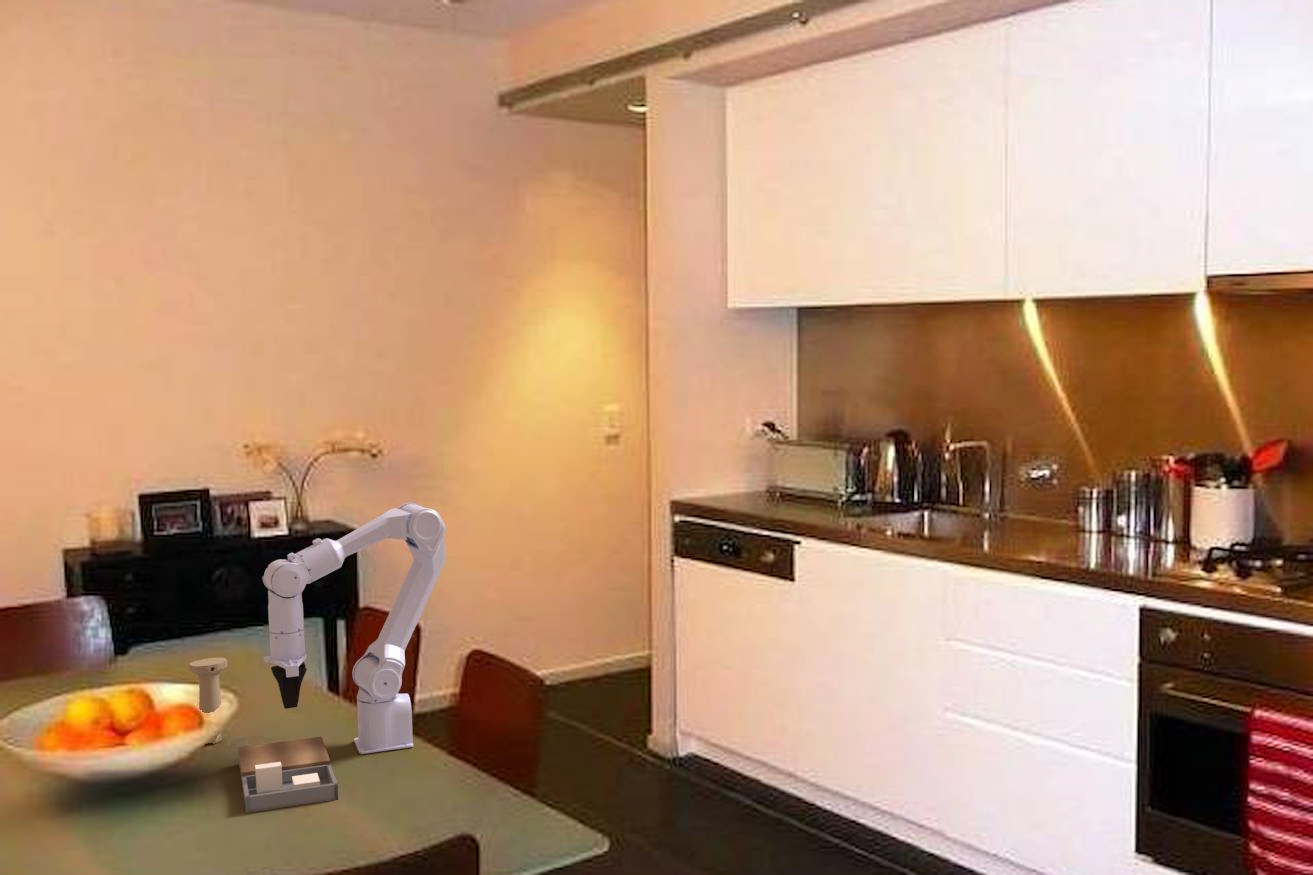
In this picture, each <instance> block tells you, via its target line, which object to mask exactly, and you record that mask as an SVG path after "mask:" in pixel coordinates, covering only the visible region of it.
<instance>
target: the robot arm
mask: <svg viewBox="0 0 1313 875" xmlns="http://www.w3.org/2000/svg"><path fill="white" fill-rule="evenodd" d="M446 532H447V527H446V524H445V523H444V521H443V518H442V517H441V514H439V512H437V511H436V510H434V509H432V508H428V507H424V506H421V505H419V504H418V503H414V502H407V503H403V504H401V505H400V506H398V507H394V508H392V509H389V510H387V511H386V512H384V513H383V514H381V515H379V516H378V517H376V518H374V519H372V520H371V521H368V522H366V523H365V524H363V525H362V526H360V527H358V528H357V529H354V530H353V531H351V532H350V533H348V534H346V535H344V536H342V537H340V538H339V539H337V540H334V539H330V538H323V539H321V538H319V537H318V538H315V539H313V540H311V541H312V545H310V546H308V547H305V548H304V549H301V550H300V551H297V552H296V553H294V552H290V553H289V554H287V559H280V558H279V559H276V560H274V561H272V562H271V563H269V564H268V565H267V568H266V569H265V571H264V574H263V576H262V582H263V584H264V586H265V587H266V588H267V589H268V590H267V595H268V596H267V599H268V605H267V610H268V612H267V614H268V628H269V629H268V630H269V632H268V633H269V648H270V649H269V651H270V655H265V656H263V662H264V663H266V664H267V663H271V664H274V665H273V666H271V667H270V670H271V673H272V675H273V676H274V678H275V680H276V683H277V684H278V689H279V692H280V697H281V701H282V704H283V707H284V709H285V710H288V709H293V708H294V709H295V708H298V704H299V701H300V700H299V699H300V692H301V686H302V683H303V679H304V677H305V675H306V673H307V667H306V663H305V662H304V661H305V660H306V659H307V657H308V656H307V652H306V644H305V623H304V620H305V619H304V603H303V596H302V595H303V594H302V593H303V591H304V590H305V588H306V585H307V584H308V585H309V584H312V583H314V582H315V581H317V580H319V579H321V578H322V577H324V576H327V575H328V574H331V573H332V572H334V571H336V570H339V569H340V568H342V566H343V563H344V561H345V559H346V558H347V557H348V556H351V555H353V554H356V553H357V552H360V551H361V550H364V549H366V548H368V547H371V546H373V545H375V544H377V543H379V542H381V541H384V540H386V539H392V540H393V539H394V540H402V541H404V542H405V543H406V544H407V546H408V548H409V551H410V553H411V556H412V558H413V561H412V563H411V565H410V568H409V570H408V572H407V574H406V576H405V579H404V581H403V583H402V584H401V587H400V590H399V591H398V593H397V596H396V598H395V600H394V603H393V604H392V607H391V609H390V611H389V613H388V616H387V617H386V620H385V622H384V624H383V626H382V627H381V628H382V629H381V630H380V633H379V635H378V638H377V639H376V640H375V641H373V642H372V643H371V644H369V646H368V647H367V649H366V651H365V653H364V654H363V655H362V657H360V658H359V659H358V660H357V661H356V662H355V664H354V665H353V668H352V673H351V674H352V679H353V680H352V681H354V683H355V685H356V686H358V692H357V694H356V705H357V706H356V708H357V732H358V733H357V734H358V735H357V736H358V737H355V738H353V741H354V744H355V747H356V748H357V750H358V753H359V754H360V755H363V754H371V753H379V752H387V751H393V750H400V749H401V750H402V749H408V748H413V747H414V741H413V715H412V714H413V712H412V703H411V698H410V695H409V693H399V692H400V690H401V687H402V685H403V684H402V683H403V679H402V677H403V672H404V669H405V666H406V656H405V651H406V649H407V646H408V644H409V642H410V640H411V638H412V636H413V634H414V631H415V629H416V626H417V625H418V622H419V620H420V618H421V616H422V613H423V612H424V610H425V607H426V604H427V603H428V601H429V598H430V597H431V594H432V592H433V589H434V587H435V585H436V583H437V581H438V578H439V577H440V574H441V572H442V569H443V567H444V565H445V563H446V543H445V542H446V540H445V535H446Z"/></svg>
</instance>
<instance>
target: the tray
mask: <svg viewBox="0 0 1313 875" xmlns="http://www.w3.org/2000/svg"><path fill="white" fill-rule="evenodd" d="M312 773H317V774H318V777H319V780H320V785H319V786H312V787H305V788H298V789H292V776H298V775H305V774H312ZM242 783H243V788H242V794H243V800H244V807H245V808H244V809H245V814H249V813H258V812H263V811H271V810H276V809H284V808H289V807H296V806H302V805H303V806H304V805H309V804H310V805H311V804H315V803H322V802H329V801H337V800H339V788H338V787H339V786H338V784H339V783H338V781H337V778H336V776H335V773H334V770H333V768H332V764H331V763H330V764H326V765H319V766H312V767H305V768H298V769H291V770H284V771H282V784H283V790H277V791H270V792H263V793H257V791H256V777H255V775H248V776H242V781H241V784H242Z"/></svg>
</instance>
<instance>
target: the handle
mask: <svg viewBox="0 0 1313 875" xmlns="http://www.w3.org/2000/svg"><path fill="white" fill-rule="evenodd" d="M188 665H189V666H188V667H189V671H190V672H191V673H193V674H195V675H197V676H198V680H199V682H198V684H199V689H198V690H199V692H198V694H199V695H198V696H199V697H198V698H199V700H198V710H199V709H200V710H202V712H204V713H210V712H214V711H215V710H216V709H217V708H219V706H220V705H221V703H222V696H221V690H220V689H221V686H220V673H221V672H223V671H224V670H225V669H226V668H227V667H228V660H227V658H226V657H209V658H203V659H199V660H194V661H192V662H189V664H188ZM222 731H223V730H222ZM222 731H221V732H220V733H219V734H218V736H217V738H215V740H213V743H214V742H215V743H216V744H217V743H220V742H221V741H222V738H223V734H222Z"/></svg>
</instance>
